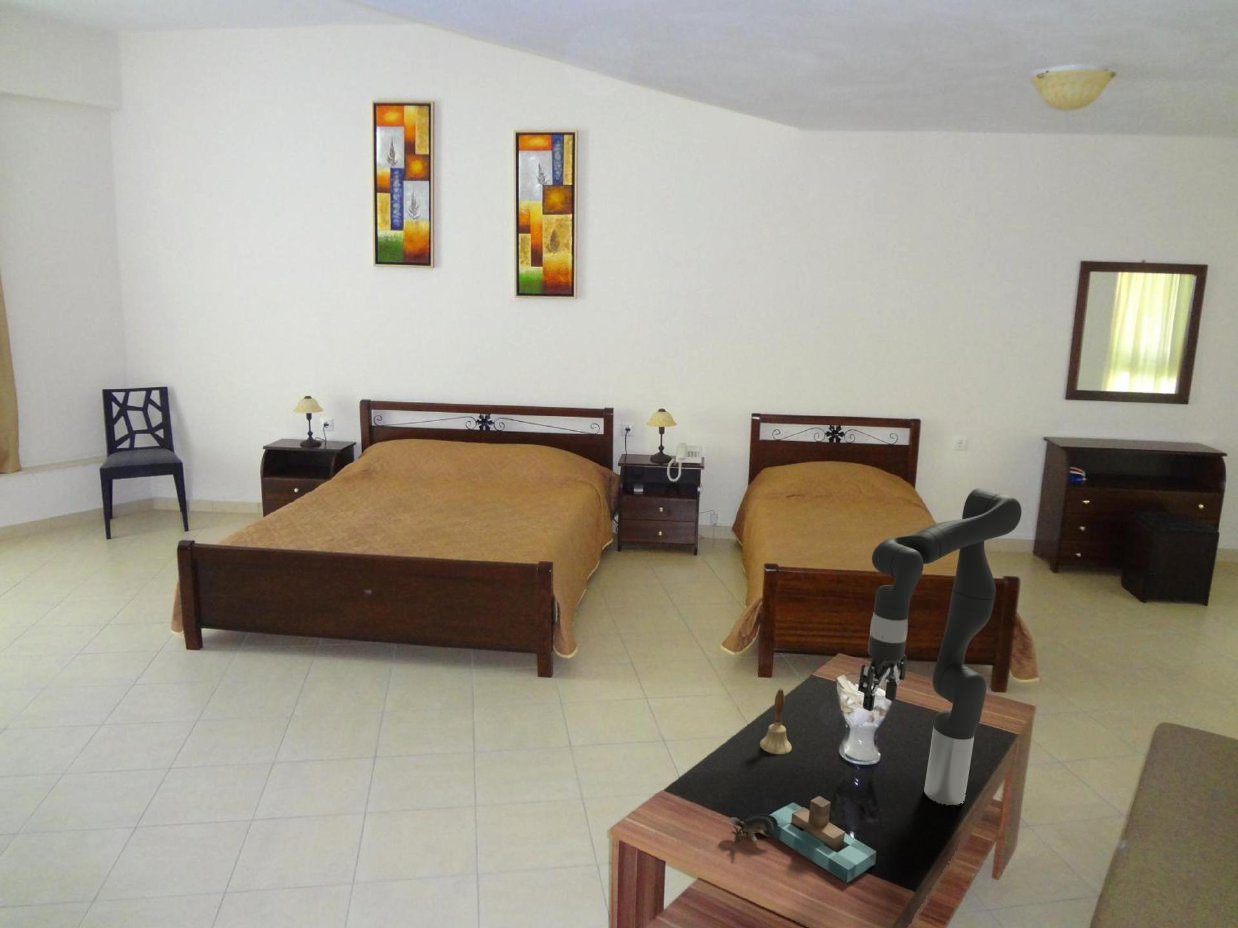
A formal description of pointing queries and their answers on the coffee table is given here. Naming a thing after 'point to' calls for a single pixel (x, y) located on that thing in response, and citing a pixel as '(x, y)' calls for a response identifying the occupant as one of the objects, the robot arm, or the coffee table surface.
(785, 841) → the teal block with holes
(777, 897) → the coffee table surface
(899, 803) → the coffee table surface
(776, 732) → the hand bell
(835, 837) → the wooden forked block
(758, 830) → the brown animal figure
